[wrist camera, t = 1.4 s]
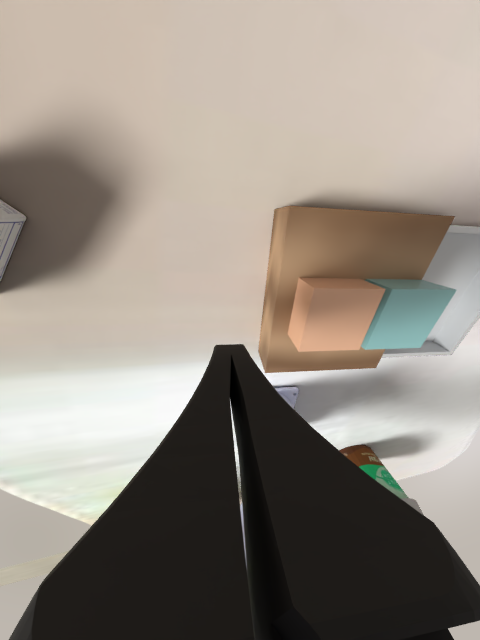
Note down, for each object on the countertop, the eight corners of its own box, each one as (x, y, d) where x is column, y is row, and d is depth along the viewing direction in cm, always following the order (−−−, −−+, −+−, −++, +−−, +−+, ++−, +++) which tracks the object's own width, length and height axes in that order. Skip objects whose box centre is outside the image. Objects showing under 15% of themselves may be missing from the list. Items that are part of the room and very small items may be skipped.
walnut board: (354, 347, 22) (375, 367, 19) (258, 350, 21) (265, 372, 18) (409, 217, 16) (454, 216, 13) (274, 209, 14) (290, 205, 11)
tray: (429, 342, 23) (451, 354, 21) (359, 344, 22) (374, 357, 20) (503, 229, 17) (544, 230, 15) (411, 224, 16) (441, 224, 14)
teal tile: (394, 331, 17) (420, 348, 15) (345, 332, 17) (364, 349, 14) (421, 279, 15) (456, 289, 13) (365, 278, 14) (392, 289, 12)
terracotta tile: (340, 332, 17) (359, 349, 14) (287, 334, 16) (298, 351, 14) (359, 278, 14) (385, 289, 12) (298, 277, 14) (314, 288, 11)
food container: (391, 445, 36) (447, 517, 27) (370, 461, 38) (415, 532, 29) (343, 437, 32) (389, 517, 24) (323, 456, 35) (358, 534, 26)
